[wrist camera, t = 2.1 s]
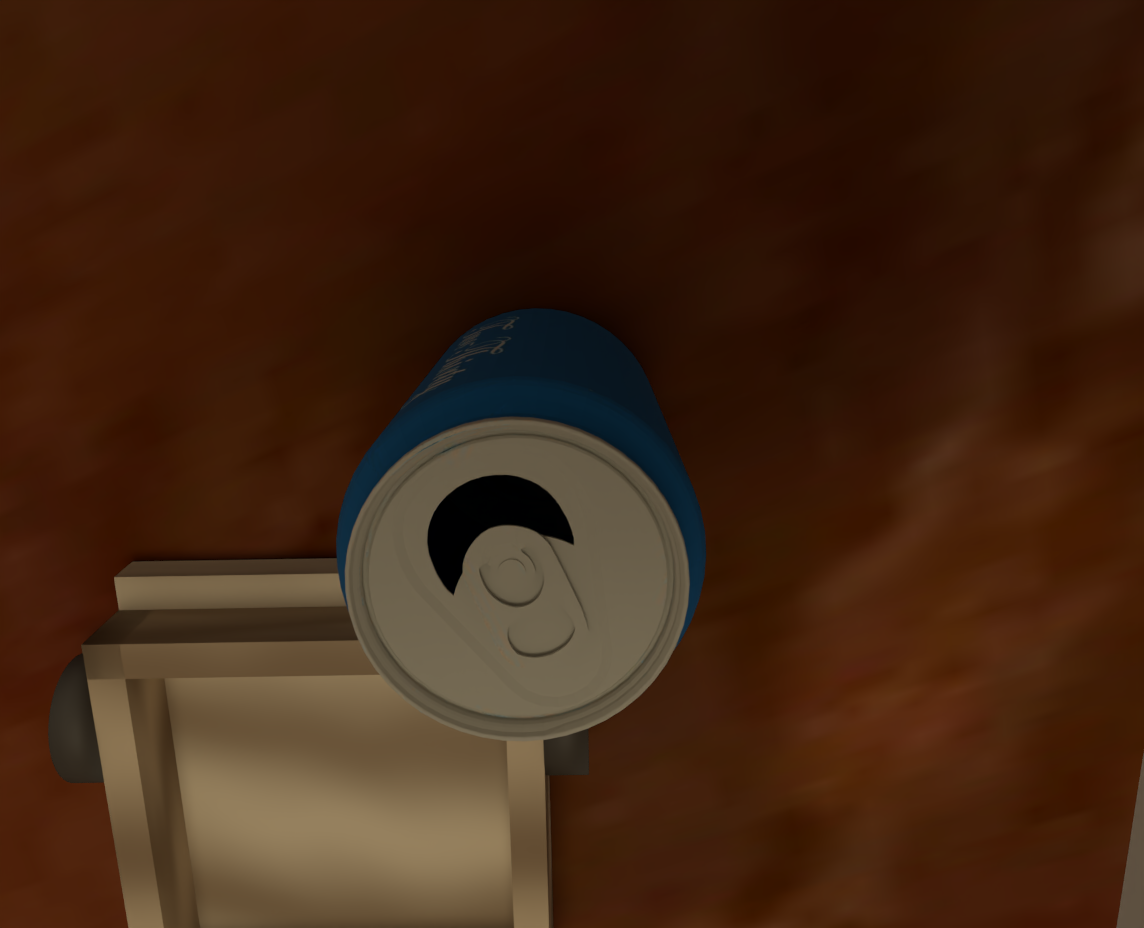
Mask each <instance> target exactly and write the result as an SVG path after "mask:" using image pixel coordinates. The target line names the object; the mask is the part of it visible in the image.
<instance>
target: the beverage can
mask: <svg viewBox="0 0 1144 928" xmlns="http://www.w3.org/2000/svg"><path fill="white" fill-rule="evenodd" d="M336 545H337V568H338V574H339V580H340V586H341V590H342V593H343V597H344V600H345V603H346V606H347V609H348V612H349V614H350V618H351V621H352V624H353V627H354V631H355V633H356V635H357V638H358V640H359V642H360V644H361V646H362V648H363V651H364V652H365V654H366V656H367V657H368V659H369V660H370V662H371V663H372V665H373V667H374V668H375V670H376V671H377V672H378V673H379V674H380V676H381V677H382V678H383V679H384V680H385V682H386V683H387V684H388V685H389V686H390V687H391V688H392V689H393V690H394V691H395V692H396V693H397V694H398V695H399V696H400V697H402V698H403V699H404V700H405V701H406V702H408V703H409V704H410V705H412V706H413V707H414V708H416V709H417V710H419V711H420V712H421V713H423V714H425V715H427V716H428V717H430V718H432V719H434V720H436V721H437V722H439V723H441V724H444V725H446V726H448V727H451V728H453V729H456V730H458V731H461V732H464V733H468V734H472V735H475V736H479V737H483V738H489V739H496V740H502V741H535V740H547V739H552V738H557V737H562V736H567V735H570V734H573V733H576V732H579V731H582V730H585V729H588V728H590V727H592V726H594V725H596V724H598V723H601V722H603V721H605V720H607V719H608V718H610V717H612V716H613V715H615V714H616V713H618V712H620V711H621V710H623V709H624V708H625V707H627V706H628V705H629V704H630V703H632V702H633V701H634V700H635V699H636V698H638V697H639V696H640V695H641V694H642V693H643V692H644V691H645V690H646V689H647V688H648V687H649V686H650V685H651V683H652V682H653V681H654V680H655V679H656V677H657V676H658V675H659V673H660V672H661V671H662V669H663V668H664V666H665V665H666V664H667V662H668V660H669V658H670V656H671V654H672V652H673V651H674V649H675V648H676V646H677V645H678V644H679V642H680V641H681V639H682V637H683V635H684V633H685V632H686V630H687V628H688V626H689V624H690V622H691V620H692V617H693V614H694V612H695V609H696V606H697V604H698V601H699V597H700V593H701V589H702V584H703V580H704V573H705V561H706V544H705V530H704V525H703V520H702V515H701V510H700V506H699V504H698V501H697V498H696V495H695V492H694V489H693V486H692V484H691V482H690V479H689V477H688V474H687V472H686V470H685V467H684V465H683V462H682V460H681V458H680V455H679V453H678V450H677V448H676V446H675V443H674V441H673V438H672V436H671V434H670V431H669V429H668V426H667V424H666V422H665V419H664V417H663V414H662V412H661V410H660V407H659V405H658V402H657V400H656V398H655V395H654V393H653V390H652V388H651V386H650V383H649V381H648V379H647V377H646V375H645V373H644V371H643V369H642V367H641V365H640V364H639V362H638V361H637V360H636V358H635V357H634V355H633V354H632V353H631V352H630V350H629V349H628V348H627V347H626V346H625V345H624V344H623V343H622V342H621V341H620V340H619V339H618V338H616V337H615V336H614V335H613V334H612V333H611V332H609V331H608V330H606V329H604V328H603V327H601V326H600V325H598V324H597V323H595V322H592V321H590V320H588V319H586V318H584V317H582V316H578V315H575V314H572V313H569V312H565V311H559V310H554V309H538V308H533V309H522V310H516V311H511V312H507V313H503V314H500V315H497V316H495V317H492V318H489V319H487V320H485V321H483V322H481V323H480V324H478V325H476V326H474V327H473V328H471V329H470V330H469V331H467V332H466V333H464V334H463V335H462V336H460V337H459V338H458V339H457V340H456V341H455V342H454V343H453V344H452V345H451V346H450V347H449V348H448V350H447V351H446V352H445V353H444V355H443V356H442V357H441V358H440V360H439V361H438V362H437V363H436V365H435V366H434V367H433V368H432V370H431V371H430V372H429V374H428V375H427V376H426V377H425V379H424V380H423V381H422V383H421V384H420V385H419V386H418V388H417V389H416V390H415V391H414V393H413V394H412V395H411V397H410V398H409V399H408V400H407V402H406V403H405V404H404V405H403V407H402V408H401V409H400V411H399V412H398V413H397V414H396V416H395V417H394V418H393V419H392V421H391V422H390V423H389V425H388V426H387V427H386V428H385V430H384V431H383V432H382V433H381V435H380V436H379V437H378V439H377V440H376V441H375V442H374V444H373V445H372V446H371V447H370V449H369V450H368V451H367V453H366V454H365V456H364V457H363V459H362V461H361V462H360V464H359V466H358V467H357V469H356V471H355V472H354V474H353V477H352V479H351V481H350V484H349V486H348V489H347V491H346V493H345V496H344V500H343V504H342V508H341V512H340V515H339V522H338V530H337V539H336Z"/></svg>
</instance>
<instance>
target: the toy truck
mask: <svg viewBox="0 0 1144 928" xmlns="http://www.w3.org/2000/svg"><path fill="white" fill-rule="evenodd" d="M114 580H115V587H116V593H117V600H118V606H119V611H118V612H117V613H115V614H114V615H113V616H112V617H111V618H110V619H109V620H108V621H107V622H106V623H105V624H104V625H102V626H101V627H100V628H99V629H98V630H97V631H96V632H95V633H94V634H93V635H92V636H91V637H89V638H88V639H87V640H86V641H85V642H84V643H83V644H82V645H81V646H82V652H83V653H82V654H80V655H78V656H76V657H75V658H74V659H73V660H72V661H71V662H70V663H69V664H68V665H67V667H66V668H65V670H64V671H63V673H62V675H61V677H60V679H59V681H58V684H57V686H56V689H55V692H54V696H53V699H52V704H51V709H50V715H49V730H48V736H49V747H50V753H51V758H52V761H53V764H54V766H55V769H56V771H57V772H58V774H59V775H60V776H61V777H62V778H63V779H64V780H65V781H67V782H70V783H96V782H104V783H105V789H106V795H107V801H108V807H109V813H110V819H111V825H112V831H113V837H114V843H115V849H116V855H117V861H118V867H119V873H120V879H121V885H122V891H123V897H124V903H125V909H126V915H127V921H128V927H129V928H553V897H552V860H551V822H550V785H549V775H589V750H588V729H585V730H582V731H579V732H576V733H573V734H570V735H567V736H562V737H557V738H552V739H547V740H535V741H502V740H496V739H489V738H483V737H479V736H475V735H472V734H468V733H464V732H461V731H458V730H456V729H453V728H451V727H448V726H446V725H444V724H441V723H439V722H437V721H436V720H434V719H432V718H430V717H428V716H427V715H425V714H423V713H421V712H420V711H419V710H417V709H416V708H414V707H413V706H412V705H410V704H409V703H408V702H406V701H405V700H404V699H403V698H402V697H400V696H399V695H398V694H397V693H396V692H395V691H394V690H393V689H392V688H391V687H390V686H389V685H388V684H387V683H386V682H385V680H384V679H383V678H382V677H381V676H380V674H379V673H378V672H377V671H376V670H375V668H374V667H373V665H372V663H371V662H370V660H369V659H368V657H367V656H366V654H365V652H364V651H363V648H362V646H361V644H360V642H359V640H358V638H357V635H356V633H355V631H354V627H353V624H352V621H351V618H350V614H349V612H348V609H347V606H346V603H345V600H344V597H343V593H342V590H341V586H340V580H339V574H338V568H337V558H318V559H258V560H199V561H139V562H132V563H130V564H129V565H128V566H127V567H126V568H124V569H123V570H122V571H121V572H120V573H118V574H117V575H116V576H115V577H114Z"/></svg>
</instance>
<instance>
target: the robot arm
mask: <svg viewBox="0 0 1144 928" xmlns="http://www.w3.org/2000/svg"><path fill="white" fill-rule="evenodd" d="M1117 928H1144V755H1143V761H1142V768H1141V774H1140V780H1139V787H1138V793H1137V800H1136V806H1135V813H1134V819H1133V826H1132V832H1131V839H1130V845H1129V851H1128V858H1127V864H1126V871H1125V877H1124V884H1123V890H1122V897H1121V903H1120V910H1119V916H1118V922H1117Z"/></svg>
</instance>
